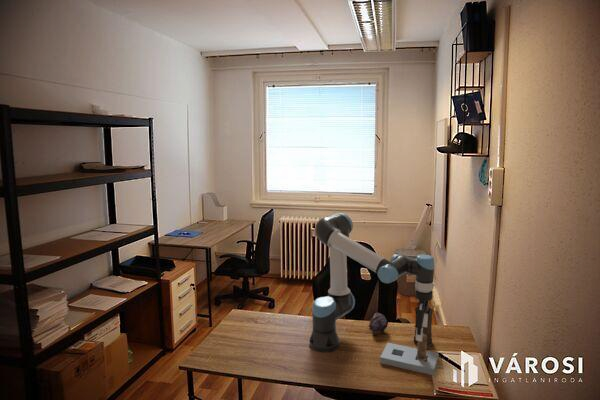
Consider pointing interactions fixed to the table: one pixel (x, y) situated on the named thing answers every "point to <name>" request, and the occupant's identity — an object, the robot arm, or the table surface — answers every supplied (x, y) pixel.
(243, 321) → the table surface
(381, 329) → the rock
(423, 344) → the walnut peg
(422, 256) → the robot arm
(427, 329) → the container
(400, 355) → the board
